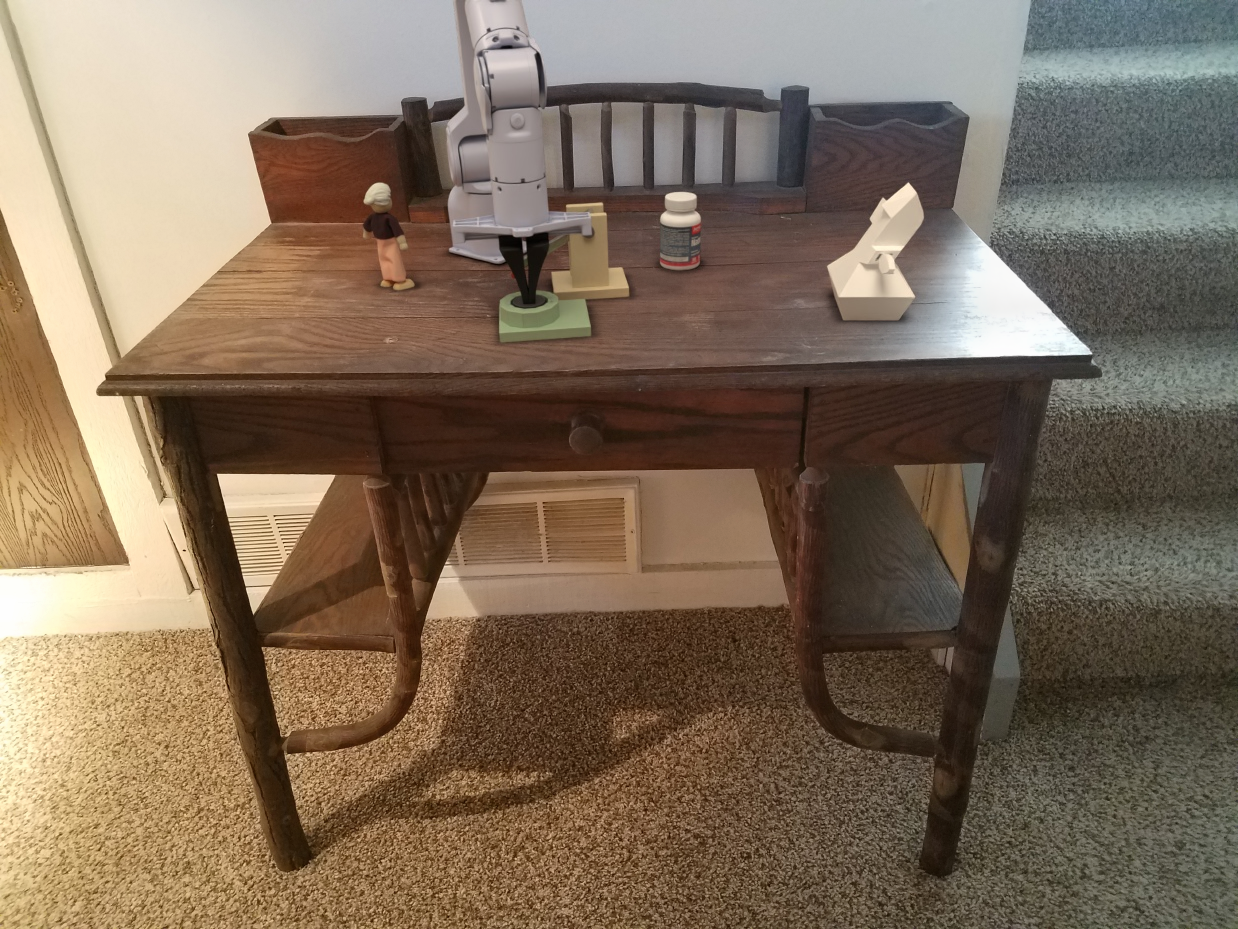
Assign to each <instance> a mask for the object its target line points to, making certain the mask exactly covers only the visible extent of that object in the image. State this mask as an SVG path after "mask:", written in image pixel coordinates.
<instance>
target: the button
mask: <svg viewBox="0 0 1238 929" xmlns="http://www.w3.org/2000/svg"><path fill="white" fill-rule="evenodd" d="M545 304H546V303H545V298H544V297H542V296H539V295H536V303H535V304H523V300H522V296H519V297H517V298H515V299H514V300H513V306H514V307H516V308H523V309H530V308H537V307H540V306H543V305H545Z"/></svg>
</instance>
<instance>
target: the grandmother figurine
mask: <svg viewBox="0 0 1238 929" xmlns="http://www.w3.org/2000/svg"><path fill="white" fill-rule="evenodd" d="M391 192H392V191H391V188H390V186H389V184H387V183H384V182H376V183H374V184H372V185H371V186H370V187H369V188H368V190H367V191H366V192H365V196H364V199H363V204H364V205H366V206H369V207H371V209H372V211H374V212H373V213H371V214H369V215H368V216H367V217H366V218H365V220H364V222H363V223H362V228H363V230H362V231H363V233H362V238H363V239H364V240H366V241H370V240H371V239H372V234H373V237H374V239H375V241H376V243H377V244H376V245H377V254H378V262H379V266H380V270H381V276H382V279H383V280H381V282H380V287H382V288H390V287H392V289H393V290H394V291H403V290H408V289H412V288H414V287H415V284H416V283H414V281H413V280H412V279H410V278H406V277H407V271H406V268H405V265H404V264H405V263H404V261H403V257H402V254H401V252H407V251H409V245H408V244H407V238H406V236H405V232H404V231H403V228H402V226H401V225H400V223H399V220H398V218H397V217H395V216H394V215H392V214H391V213H389V212H390V211H391V210H392V207H393V201H392V198H391V197H392V195H391Z"/></svg>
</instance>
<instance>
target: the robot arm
mask: <svg viewBox="0 0 1238 929" xmlns="http://www.w3.org/2000/svg"><path fill="white" fill-rule="evenodd" d="M452 5H453V13H454V22H455V30H456V31H455V32H456V40H457V49H458V57H459V58H458V59H459V64H460V65H459V67H460V74H461V83H462V92H463V100H464V102H463V103H464V106H463V107H462V108H461V109H460V110H459V111H458V112H457V113H456V114H455V115H454V116H453V117H451V119H450V120H448V122H447V124H446V125H447V126H446V128H445V134H446V153H447V161H448V169H449V174H450V179H451V182H452V184H454V186H453V187H452V188H451V191H450V193H449V195H448V199H447V211H448V219H449V227H450V233H451V235H450V236H451V242H452V247H450V248H448V252H449V253H450V254H455V255H459V256H464V257H467V258H471V259H475V260H480V261H483V262H486V263H491V264H495V265H501V264H503V263H507V266H508V267H509V269H510V272H511V271H512V273H513V275H514V277H515V282H516V284H517V286H518V289H519V291H520V292H521V296H522V300H523V304H535V303H536V290H538V289H537V288H538V283H539V279H540V275H541V272H542V270H543V265H544V263H545V260H546V257H547V255H548V254H547V253H548V250H549V246H550V245H549V241H550V237H551V236H558V235H570V234H581V235H583V236H587V235H592V227H591V216H590V213H589V212H581V213H576V212H566V211H554V210H553V211H552V210H551V211H550V210H549V198H548V183H547V170H546V169H547V168H546V155H545V142H544V126H543V113H542V111H541V110H540V109H539V107H540V108H541V109H542V110H545V108H546V106H547V99H548V98H547V97H548V95H547V94H548V82H547V81H548V80H547V74H546V73H547V72H546V71H547V70H546V67H545V62H544V58H543V54H542V51H541V48H540V46H539V45H538V44H537V42H536V39H535V38H534V37H531V35H530V31H529V27H528V24H527V19H526V15H525V10H524V4H523V2H522V0H452ZM523 238H525V240H523ZM525 254H526V255H527V261H528V266H527V274H526V267H525V266H524V256H525Z"/></svg>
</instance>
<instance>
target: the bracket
mask: <svg viewBox="0 0 1238 929" xmlns="http://www.w3.org/2000/svg"><path fill="white" fill-rule="evenodd" d="M590 208H592V210H593V212H594V213H590V216H591V227H592V235H587V236H583V235H581V234H570V235H569V237H570V241H569V242H567V245H568V247H567V248H568V260H569V261H568V262H569V263H568V264H569V270H560V271H551V272H550V273H551V284H552V291H553V292H552V293H553V294H554V295H556V296H558V301H560V300H575V299H585V300H598V299H599V300H600V299H610V298H611V299H613V298H626V297H630V286H629V284H628V281H627V278H626V274H625V271H624V268H623V267H621V266H620V267H609V242H608V215H607V212H604V203H603V202H588V203H571V204H566V205H565V209H566V210H565V212H576V213H581V212H585V211H586V210H588V209H590Z"/></svg>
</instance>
